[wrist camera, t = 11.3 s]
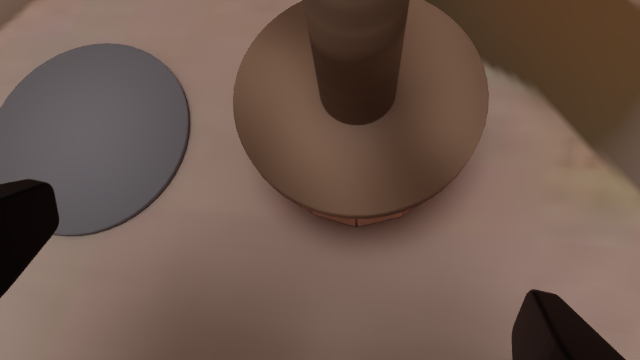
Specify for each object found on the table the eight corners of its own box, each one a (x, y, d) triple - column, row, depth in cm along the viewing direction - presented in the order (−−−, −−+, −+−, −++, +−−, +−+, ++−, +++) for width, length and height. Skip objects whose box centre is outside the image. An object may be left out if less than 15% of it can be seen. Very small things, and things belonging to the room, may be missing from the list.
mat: (137, 263, 22) (133, 262, 21) (-46, 201, 24) (-53, 199, 23) (220, 71, 25) (218, 67, 24) (51, 30, 27) (47, 26, 26)
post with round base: (346, 274, 16) (326, 208, 7) (192, 94, 19) (43, -110, 10) (537, 106, 18) (719, -123, 9) (367, -38, 21) (370, -320, 12)
